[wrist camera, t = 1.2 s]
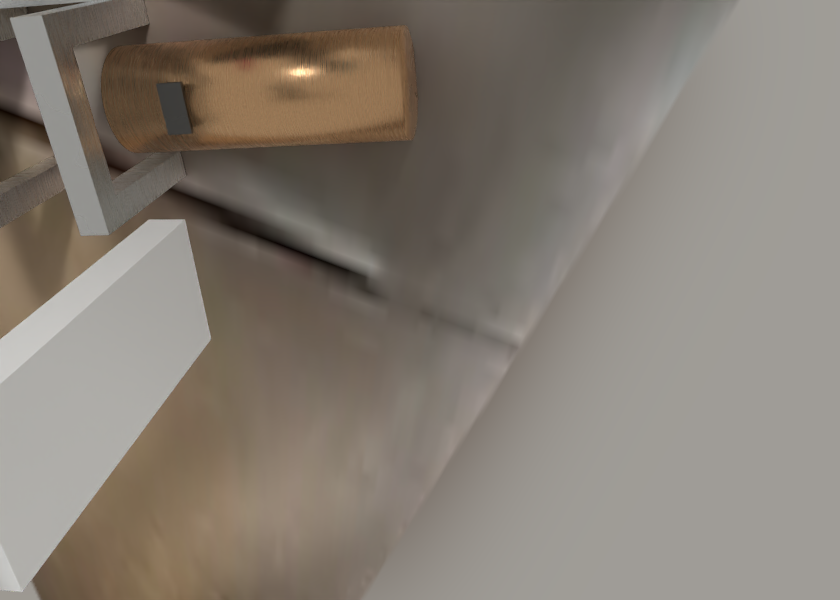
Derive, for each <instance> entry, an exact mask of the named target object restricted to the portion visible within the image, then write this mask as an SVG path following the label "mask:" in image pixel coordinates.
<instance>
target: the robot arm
mask: <svg viewBox="0 0 840 600" xmlns="http://www.w3.org/2000/svg"><path fill="white" fill-rule="evenodd" d="M210 340H211V336H210V331H209V327H208V322H207V318H206V313H205V308H204V304H203V299H202V295H201V290H200V286H199V281H198V277H197V272H196V267H195V263H194V258H193V254H192V249H191V245H190V240H189V236H188V231H187V226H186V222H185V219H174V220H148V221H146V222H145V223H144V224H143V225H141V226H140V227H139V228H138V229H136V230H135V231H134V232H133V233H131V234H130V235H129V236H128V237H126V238H125V239H124V240H123V241H122V242H120V243H119V244H118V245H117V246H115V247H114V248H113V249H112V250H110V251H109V252H108V253H107V254H105V255H104V256H103V257H102V258H100V259H99V260H98V261H97V262H95V263H94V264H93V265H92V266H91V267H89V268H88V269H87V270H86V271H84V272H83V273H82V274H81V275H79V276H78V277H77V278H76V279H74V280H73V281H72V282H71V283H69V284H68V285H67V286H66V287H64V288H63V289H62V290H61V291H60V292H58V293H57V294H56V295H55V296H53V297H52V298H51V299H50V300H48V301H47V302H46V303H45V304H43V305H42V306H41V307H40V308H38V309H37V310H36V311H35V312H34V313H32V314H31V315H30V316H29V317H27V318H26V319H25V320H24V321H22V322H21V323H20V324H19V325H17V326H16V327H15V328H14V329H12V330H11V331H10V332H9V333H7V334H6V335H5V336H4V337H3V338H1V339H0V590H4V591H17V592H23V591H24V589H25V588H26V586H27V585H28V584H29V582H30V581H31V580H32V579H33V577H34V576H35V575H36V573H37V572H38V570H39V569H40V568H41V566H42V565H43V564H44V562H45V561H46V560H47V558H48V557H49V556H50V554H51V553H52V552H53V550H54V549H55V548H56V546H57V545H58V544H59V542H60V541H61V540H62V538H63V537H64V536H65V534H66V533H67V532H68V530H69V529H70V528H71V526H72V525H73V524H74V522H75V521H76V520H77V518H78V517H79V516H80V514H81V513H82V511H83V510H84V509H85V507H86V506H87V505H88V503H89V502H90V501H91V499H92V498H93V497H94V495H95V494H96V493H97V491H98V490H99V489H100V487H101V486H102V485H103V483H104V482H105V481H106V479H107V478H108V477H109V475H110V474H111V473H112V471H113V470H114V469H115V467H116V466H117V465H118V463H119V462H120V461H121V459H122V458H123V457H124V455H125V454H126V452H127V451H128V450H129V448H130V447H131V446H132V444H133V443H134V442H135V440H136V439H137V438H138V436H139V435H140V434H141V432H142V431H143V430H144V428H145V427H146V426H147V424H148V423H149V422H150V420H151V419H152V418H153V416H154V415H155V414H156V412H157V411H158V410H159V408H160V407H161V406H162V404H163V403H164V402H165V400H166V399H167V398H168V396H169V395H170V394H171V392H172V391H173V389H174V388H175V387H176V385H177V384H178V383H179V381H180V380H181V379H182V377H183V376H184V375H185V373H186V372H187V371H188V369H189V368H190V367H191V365H192V364H193V363H194V361H195V360H196V359H197V357H198V356H199V355H200V353H201V352H202V351H203V349H204V348H205V347H206V345H207V344H208V343H209V341H210Z"/></svg>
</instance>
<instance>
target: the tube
mask: <svg viewBox="0 0 840 600" xmlns="http://www.w3.org/2000/svg"><path fill="white" fill-rule="evenodd" d="M101 93H102V101H103V106H104V110H105V114H106V117H107V120H108V123H109V125H110V127H111V129H112V131H113V133H114V135H115V136H116V138H117V139H118V141H119V142H120V143H121V144H122V145H123V146H124V147H125V148H126V149H128V150H129V151H131V152H134V153H149V152H170V151H191V150H212V149H234V148H255V147H276V146H297V145H319V144H340V143H361V142H382V141H404V140H413V138H414V136H415V132H416V125H417V110H418V94H417V82H416V70H415V58H414V50H413V44H412V40H411V36H410V33H409V30H408V28H407V26H405V25H401V26H388V27H374V28H360V29H346V30H333V31H319V32H305V33H291V34H278V35H264V36H250V37H236V38H223V39H209V40H195V41H181V42H168V43H154V44H140V45H126V46H118V47H115V48H114V49H112V50H111V51H110V53H109V54H108V55H107V57H106V59H105V62H104V65H103V69H102V76H101Z"/></svg>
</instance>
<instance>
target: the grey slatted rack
mask: <svg viewBox="0 0 840 600" xmlns="http://www.w3.org/2000/svg"><path fill="white" fill-rule="evenodd" d="M88 1H90V2H88ZM76 2H85V3H80V4H75V5H70V6H65V7H61V8H56V9H51V10H46V11H41V12H36V13H32V14H28V12H27V9H26V7H28V6H40V5H52V4H64V3H76ZM147 24H149V21H148V16H147V12H146V8H145V4H144V0H0V41H3V40H7V39H11V38H15V37H16V39H17V42H18V45H19V48H20V51H21V54H22V57H23V60H24V64H25V67H26V70H27V73H28V76H29V79H30V82H31V85H32V88H33V91H34V94H35V97H36V100H37V103H38V106H39V109H40V112H41V116H42V119H43V122H44V125H45V128H46V131H47V134H48V137H49V140H50V143H51V146H52V149H53V152H54V155H55V157H49V158H47V159H45V160H43V161H41V162H40V163H38V164H36V165H34V166H32V167H30V168H28V169H26V170H24V171H22V172H20V173H18V174H16V175H14V176H12V177H10V178H8V179H6V180H4V181H3V182H1V183H0V228H1V227H3V226H4V225H6V224H8V223H9V222H11V221H13V220H14V219H16V218H18V217H19V216H21V215H23V214H24V213H26V212H28V211H30V210H31V209H33V208H35V207H36V206H38V205H40V204H41V203H43V202H45V201H46V200H48V199H50V198H51V197H53V196H55V195H56V194H58V193H60V192H61V191H63V190H65V189H66V192H67V195H68V198H69V201H70V204H71V207H72V210H73V213H74V216H75V219H76V222H77V226H78V229H79V232H80V235H81V236H91V235H110V234H111V233H112V232H114V231H115V230H116V229H118V228H119V227H120V226H121V225H123V224H124V223H125V222H127V221H128V220H129V219H131V218H132V217H133V216H134V215H136V214H137V213H138V212H140V211H141V210H142V209H144V208H145V207H146V206H147V205H149V204H150V203H151V202H153V201H154V200H155V199H156V198H158V197H159V196H160V195H162V194H163V193H164V192H166V191H167V190H168V189H169V188H171V187H172V186H173V185H175V184H176V183H177V182H179V181H180V180H181V179H182V178H184V177H185V176H186V172H185V168H184V164H183V160H182V156H181V152H180V151H170V152H156V153H154V154H152V155H151V156H149V157H148V158H146V159H145V160H143V161H142V162H140V163H139V164H137V165H135V166H134V167H132V168H131V169H129V170H128V171H126V172H125V173H123V174H122V175H120V176H118V177H117V178H115V179H114V180H111V176H110V173H109V170H108V166H107V163H106V159H105V156H104V153H103V149H102V146H101V142H100V139H99V136H98V132H97V129H96V126H95V122H94V119H93V115H92V112H91V109H90V105H89V102H88V98H87V95H86V92H85V88H84V85H83V81H82V78H81V75H80V71H79V68H78V64H77V61H76V58H75V54H74V51H73V46H77V45H80V44H83V43H87V42H90V41H93V40H97V39H100V38H104V37H107V36H110V35H114V34H117V33H120V32H124V31H127V30H131V29H134V28H137V27H141V26H144V25H147Z"/></svg>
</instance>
